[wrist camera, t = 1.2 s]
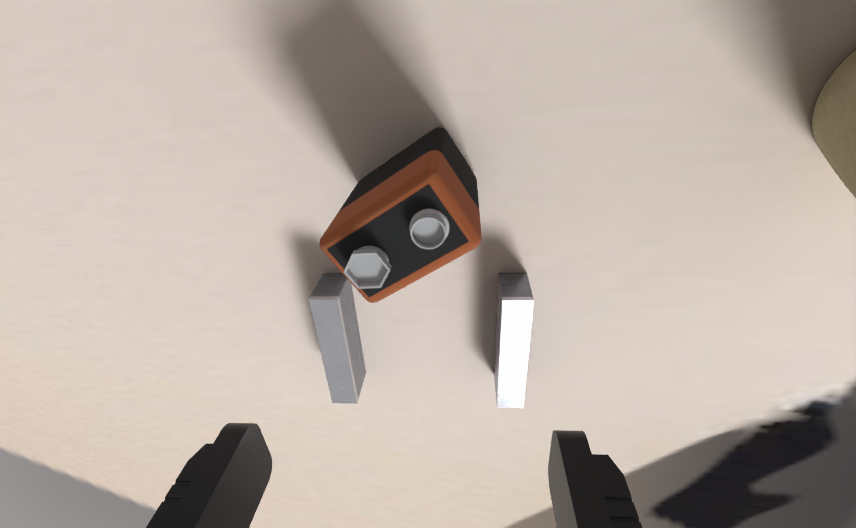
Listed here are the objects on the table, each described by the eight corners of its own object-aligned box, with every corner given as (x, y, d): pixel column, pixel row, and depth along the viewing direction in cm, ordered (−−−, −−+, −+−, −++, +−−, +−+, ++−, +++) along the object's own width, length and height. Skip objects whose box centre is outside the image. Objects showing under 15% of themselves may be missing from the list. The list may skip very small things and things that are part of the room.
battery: (356, 181, 27) (305, 253, 18) (442, 121, 25) (430, 173, 16) (395, 232, 29) (366, 320, 20) (479, 180, 26) (487, 255, 18)
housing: (323, 273, 31) (308, 299, 28) (526, 273, 30) (533, 300, 27) (343, 372, 36) (332, 402, 33) (518, 375, 35) (523, 407, 32)
